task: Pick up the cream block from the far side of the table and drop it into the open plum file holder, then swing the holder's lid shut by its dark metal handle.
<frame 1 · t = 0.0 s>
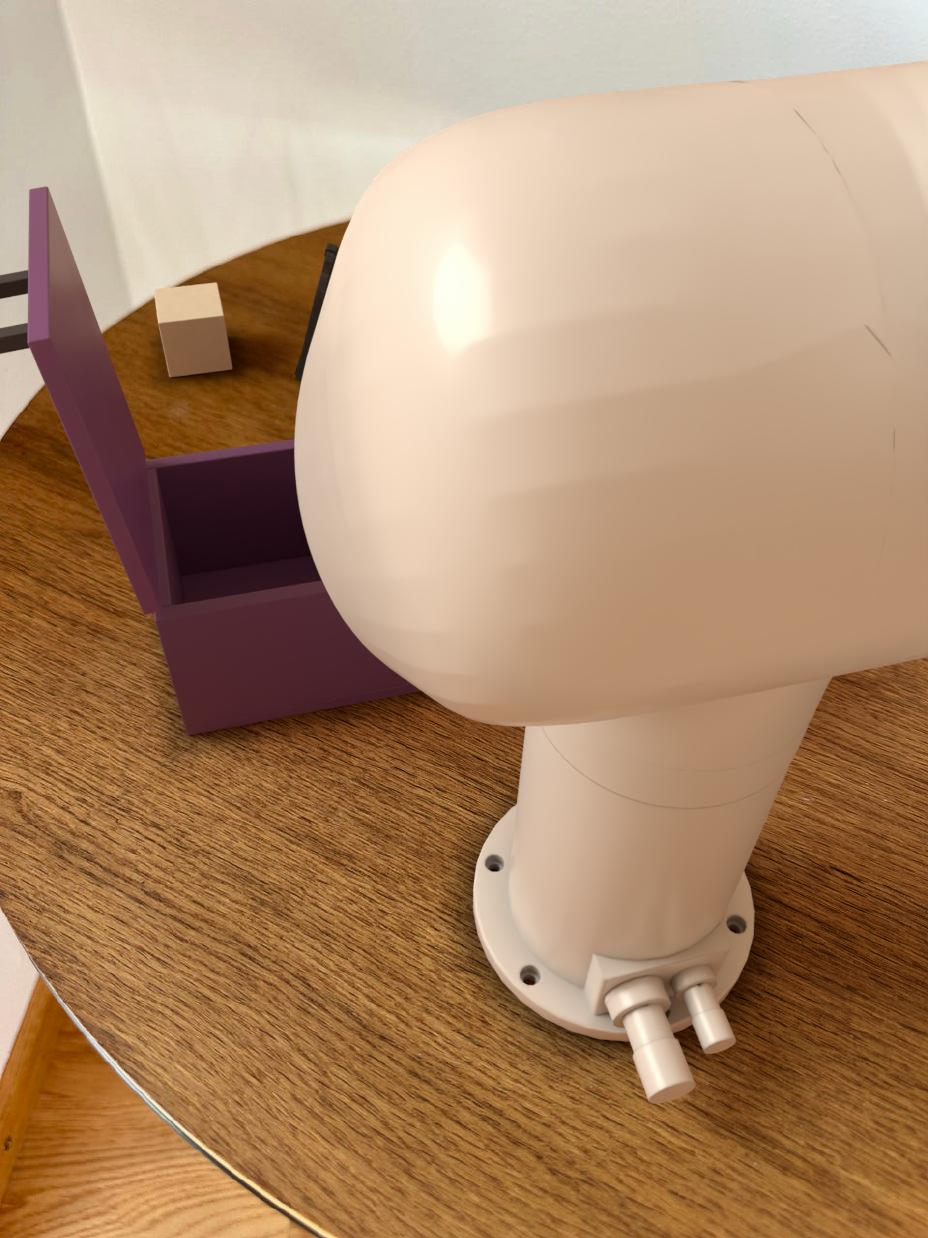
holder: (301, 630, 60), on the table
block: (198, 356, 78), on the table
lid: (48, 418, 46), point 16 cm above the table, hinge at 95.0°
magazine: (516, 400, 75), on the table
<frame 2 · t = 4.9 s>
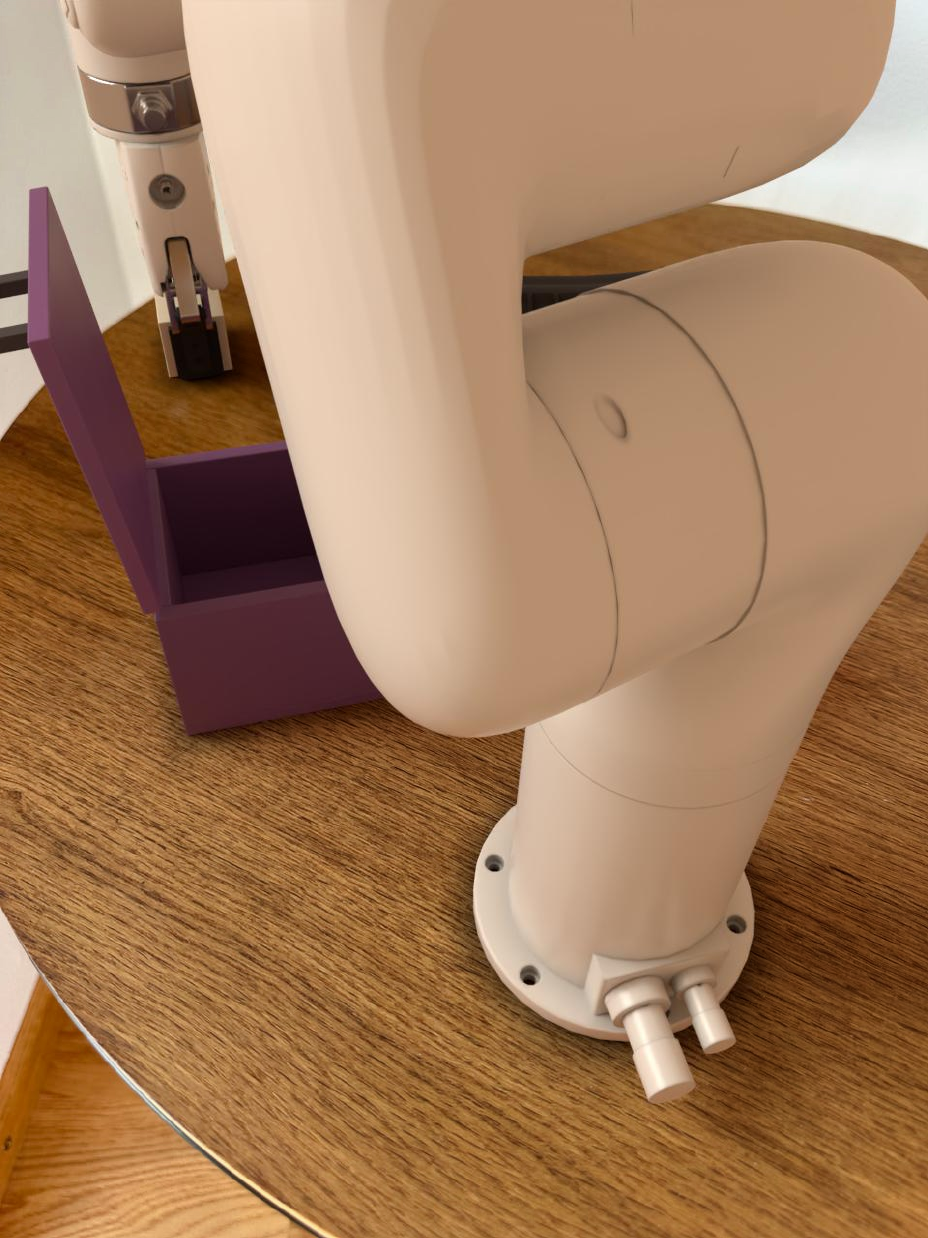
hand: (197, 352, 77), 0 cm above the table, tool pointing down, fingers closed on block, 4 cm apart
block: (198, 356, 78), on the table, touching gripper
everything else where it was.
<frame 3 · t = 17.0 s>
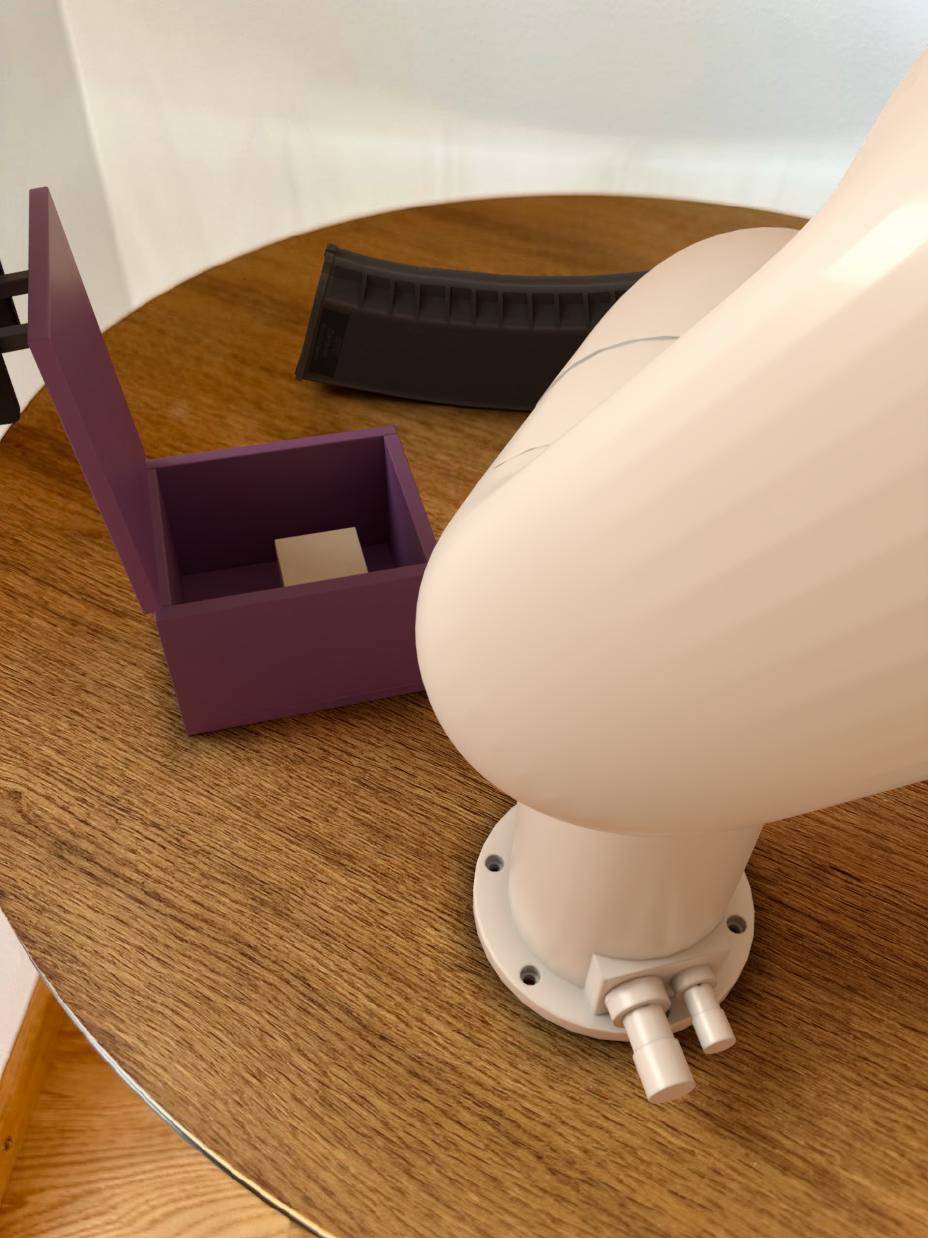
block: (327, 617, 60), point 1 cm above the table, touching holder
lid: (48, 418, 46), point 16 cm above the table, hinge at 95.0°, touching gripper
everything else where it was.
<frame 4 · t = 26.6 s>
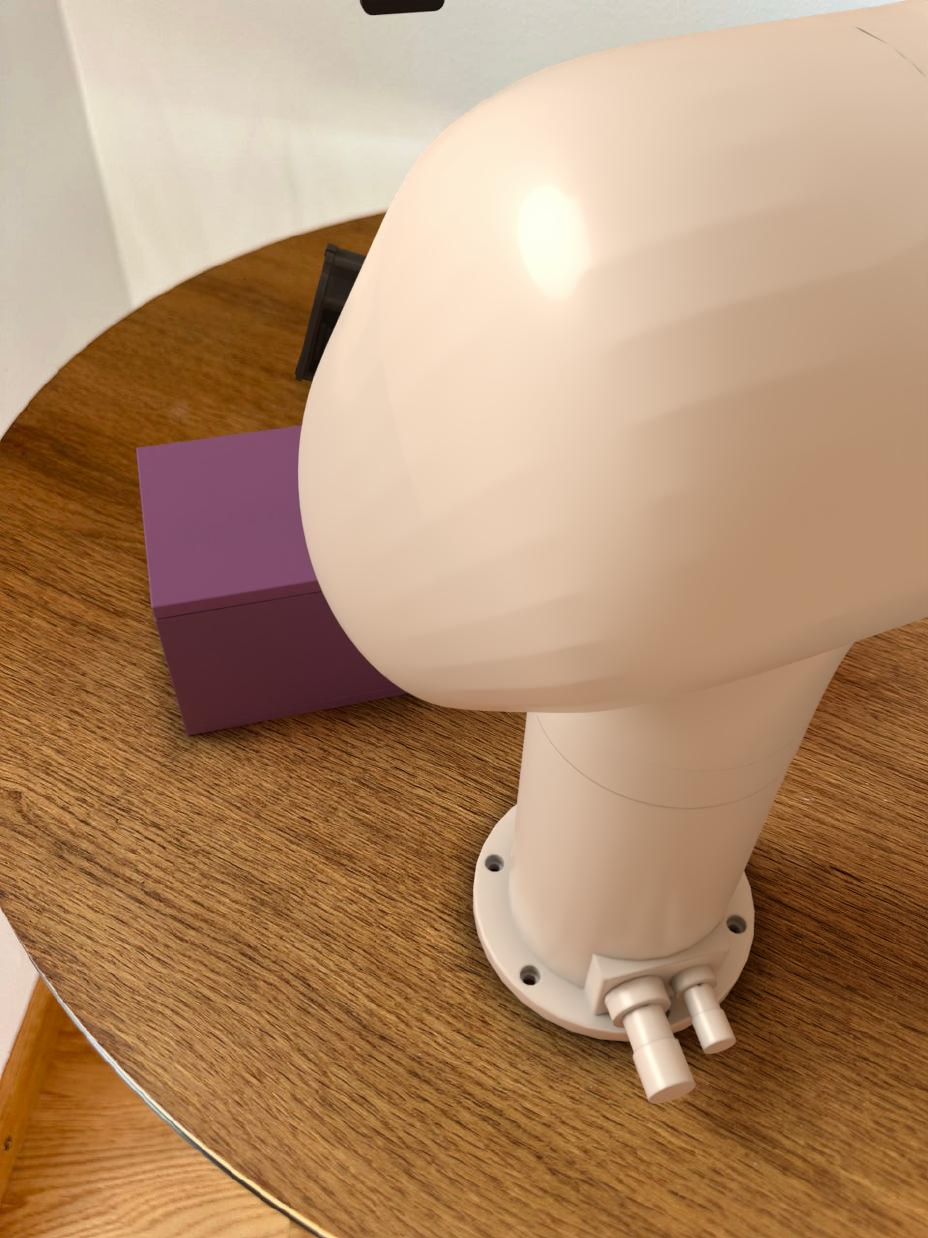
lid: (289, 472, 52), point 11 cm above the table, hinge at -0.2°
everything else where it was.
at the end: block inside the target area in the holder (1.5 cm from its centre), point 0.8 cm above the holder's base; lid at +0° (first picture: +95°) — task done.
